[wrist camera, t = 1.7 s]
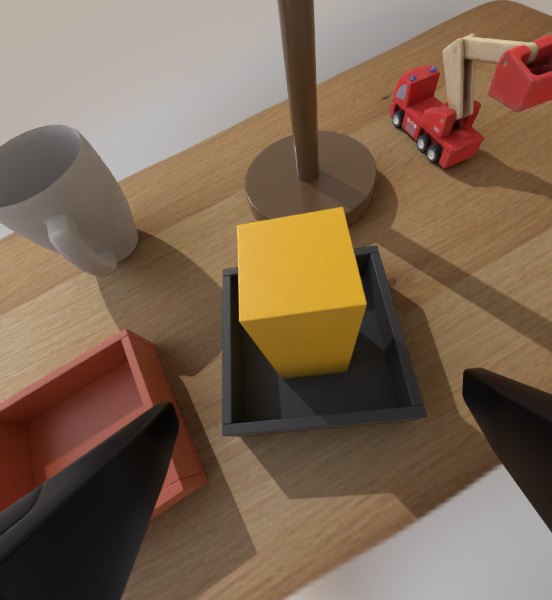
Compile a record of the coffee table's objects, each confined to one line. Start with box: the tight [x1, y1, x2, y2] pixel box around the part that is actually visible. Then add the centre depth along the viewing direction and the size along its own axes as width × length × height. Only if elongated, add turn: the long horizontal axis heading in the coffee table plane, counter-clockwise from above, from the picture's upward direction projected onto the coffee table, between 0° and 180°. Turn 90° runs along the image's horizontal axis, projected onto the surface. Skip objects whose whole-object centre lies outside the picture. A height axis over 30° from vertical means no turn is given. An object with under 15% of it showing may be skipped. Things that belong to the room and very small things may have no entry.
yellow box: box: [237, 207, 367, 379], centre depth 16 cm, size 4×4×11 cm
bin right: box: [222, 246, 427, 437], centre depth 20 cm, size 11×11×4 cm
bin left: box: [0, 329, 208, 521], centre depth 19 cm, size 11×11×4 cm
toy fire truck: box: [390, 34, 552, 168], centre depth 24 cm, size 3×14×10 cm, turn 20°
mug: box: [0, 125, 138, 276], centre depth 24 cm, size 12×9×10 cm
